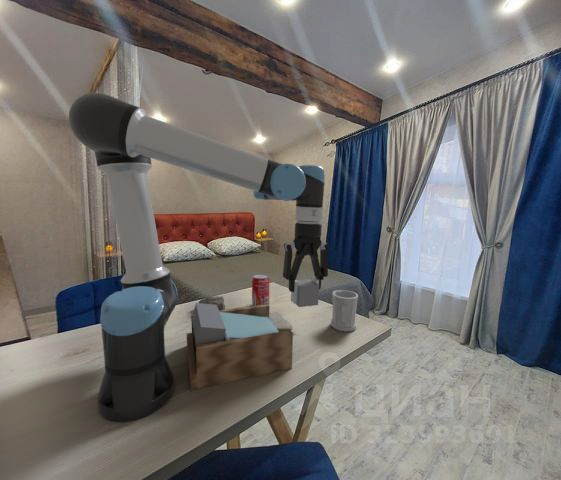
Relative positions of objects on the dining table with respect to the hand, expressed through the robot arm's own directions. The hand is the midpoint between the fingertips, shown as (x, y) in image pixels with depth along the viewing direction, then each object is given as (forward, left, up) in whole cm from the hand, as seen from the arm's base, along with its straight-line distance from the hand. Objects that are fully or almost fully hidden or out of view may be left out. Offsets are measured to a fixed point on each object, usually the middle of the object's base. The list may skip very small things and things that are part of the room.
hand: (304, 300), depth 80 cm
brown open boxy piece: (-20, +2, -15) cm, 25 cm away
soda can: (-3, +35, -15) cm, 38 cm away
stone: (-3, +18, -15) cm, 24 cm away
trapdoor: (-20, +2, -8) cm, 22 cm away
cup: (+20, +7, -15) cm, 26 cm away
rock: (-21, +36, -15) cm, 45 cm away
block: (0, 0, 0) cm, 0 cm away
